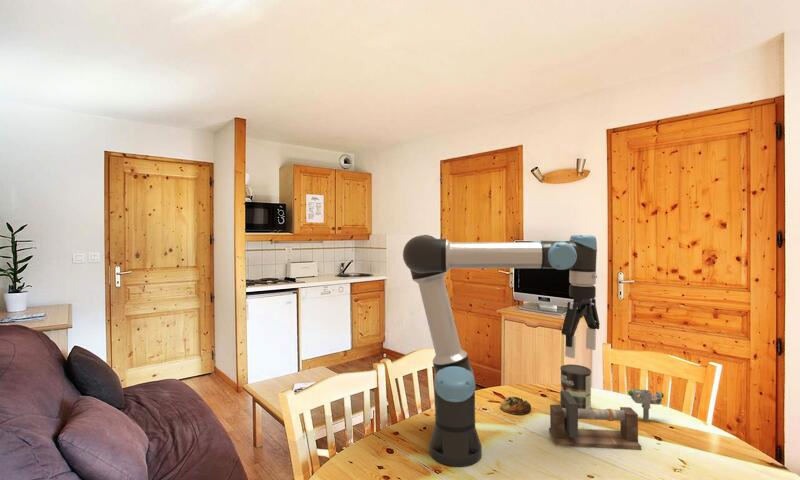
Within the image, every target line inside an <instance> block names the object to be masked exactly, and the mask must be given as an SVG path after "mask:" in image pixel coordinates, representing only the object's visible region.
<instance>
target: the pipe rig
mask: <svg viewBox="0 0 800 480" xmlns="http://www.w3.org/2000/svg"><path fill="white" fill-rule="evenodd" d="M619 408H620V409H612V408H606V409H605V408H603V409H601V408H591V409H578V420H591V421H592V420H593V421H594V420H595V421H597V420H598V421H608V422H614V421H619V422H620V424H619V425H620V430H617V429H615V430H614V429H592V428H590V429H589V428H578V438H574V437H569V435H568V434H567V432H566V430H565V425H564V418H565V419H567V409H566V408H562V407H561V404H549V411H550V412H549V414H550V417H549V419H550V421H549V422H550V427H548V432H549V435H550V436H551V439H552V441H553V442H554V445H555V446H556V447H573V448H576V447H577V448H593V447H594V448H595V449H597V448H598V449H617V450H638V451H639V450H640V451H641V450H642V445H641V443H639V414H638V412H636V411H635V410H634V409H633V408H632V407H629V406H627V407H626V406H620V407H619Z"/></svg>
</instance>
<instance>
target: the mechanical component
mask: <svg viewBox="0 0 800 480" xmlns="http://www.w3.org/2000/svg"><path fill="white" fill-rule="evenodd" d="M628 395H629V397H631V399H632V401H634V403H636V404H641V407H642V409H643V411H642V412H643V413H642V414H643V420H644V422H645V423H646V422H647V423H648V422H650V409H651V408H652V407H651V405H658V406H659V405H662V402H663V399H664V397H665V395H664V392H660V391H656V394H653V393H652V391H651V390H649V389H638V388H637V389H636V388H635V389H633V388H631V389H630V390H629V391H628Z"/></svg>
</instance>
